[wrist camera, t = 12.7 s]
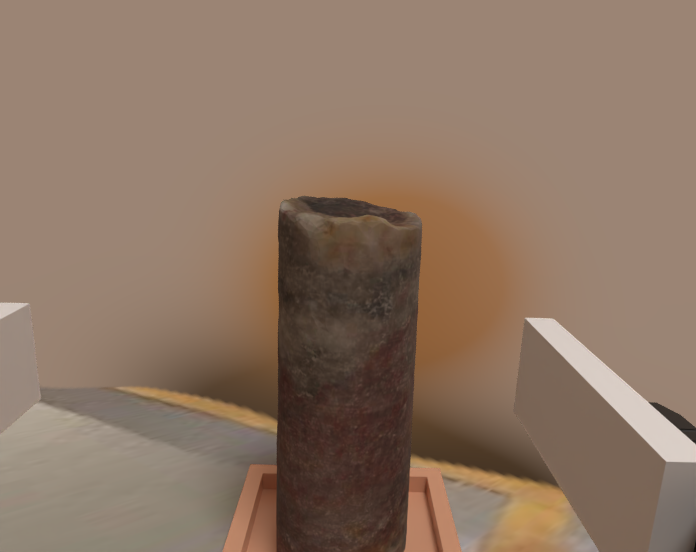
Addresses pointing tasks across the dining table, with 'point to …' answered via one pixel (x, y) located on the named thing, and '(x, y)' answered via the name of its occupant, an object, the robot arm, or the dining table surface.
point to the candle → (345, 374)
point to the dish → (422, 520)
